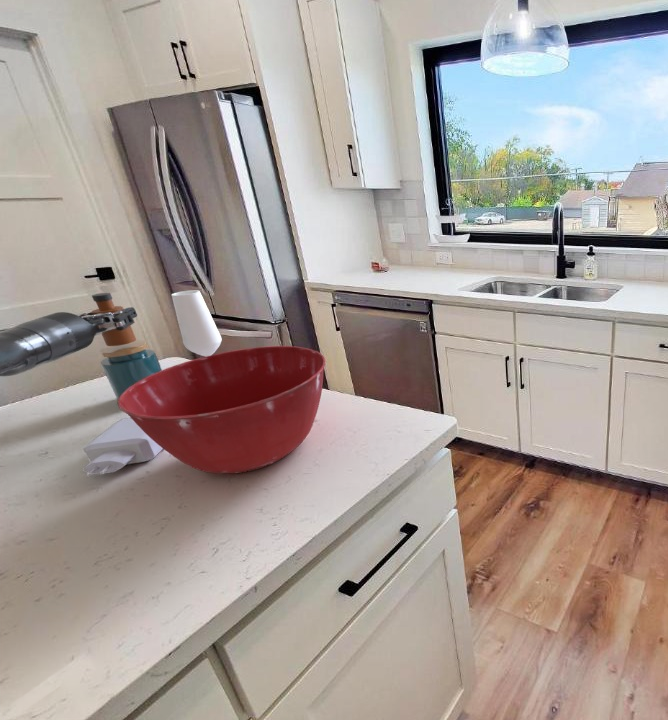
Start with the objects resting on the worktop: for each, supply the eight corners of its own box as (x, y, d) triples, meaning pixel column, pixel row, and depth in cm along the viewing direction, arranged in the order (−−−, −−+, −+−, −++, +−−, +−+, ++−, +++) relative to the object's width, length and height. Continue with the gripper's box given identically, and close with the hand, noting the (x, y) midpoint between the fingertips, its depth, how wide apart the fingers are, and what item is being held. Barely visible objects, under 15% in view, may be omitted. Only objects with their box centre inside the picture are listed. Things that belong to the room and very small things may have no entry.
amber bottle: (100, 347, 89) (78, 297, 84) (117, 339, 93) (97, 292, 89) (126, 345, 89) (105, 296, 85) (141, 338, 94) (122, 291, 90)
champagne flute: (245, 390, 99) (212, 290, 89) (215, 403, 93) (176, 298, 84) (228, 385, 101) (194, 288, 92) (197, 397, 96) (158, 295, 86)
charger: (66, 492, 66) (126, 440, 80) (134, 482, 68) (181, 433, 82) (52, 468, 65) (115, 419, 78) (123, 458, 67) (173, 412, 80)
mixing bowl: (289, 399, 94) (271, 335, 88) (373, 434, 81) (358, 360, 74) (128, 468, 72) (88, 388, 66) (206, 531, 58) (166, 438, 52)
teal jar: (108, 408, 92) (83, 355, 87) (137, 389, 100) (115, 340, 95) (154, 404, 93) (132, 352, 88) (179, 386, 101) (160, 338, 96)
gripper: (85, 315, 75) (150, 293, 91) (-8, 321, 73) (74, 297, 89) (103, 354, 78) (162, 326, 94) (14, 360, 76) (89, 331, 92)
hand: (119, 312), depth 91 cm, fingers closed on amber bottle, 4 cm apart
